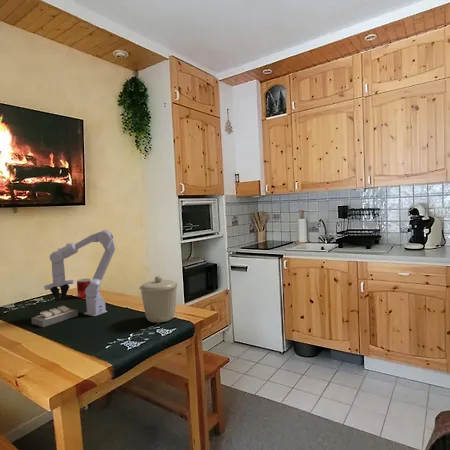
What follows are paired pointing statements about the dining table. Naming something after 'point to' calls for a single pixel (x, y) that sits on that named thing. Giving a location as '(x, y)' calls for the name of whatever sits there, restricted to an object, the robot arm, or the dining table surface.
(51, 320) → the switch unit
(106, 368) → the dining table surface
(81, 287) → the canned food
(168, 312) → the canister
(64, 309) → the switch
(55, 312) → the switch
